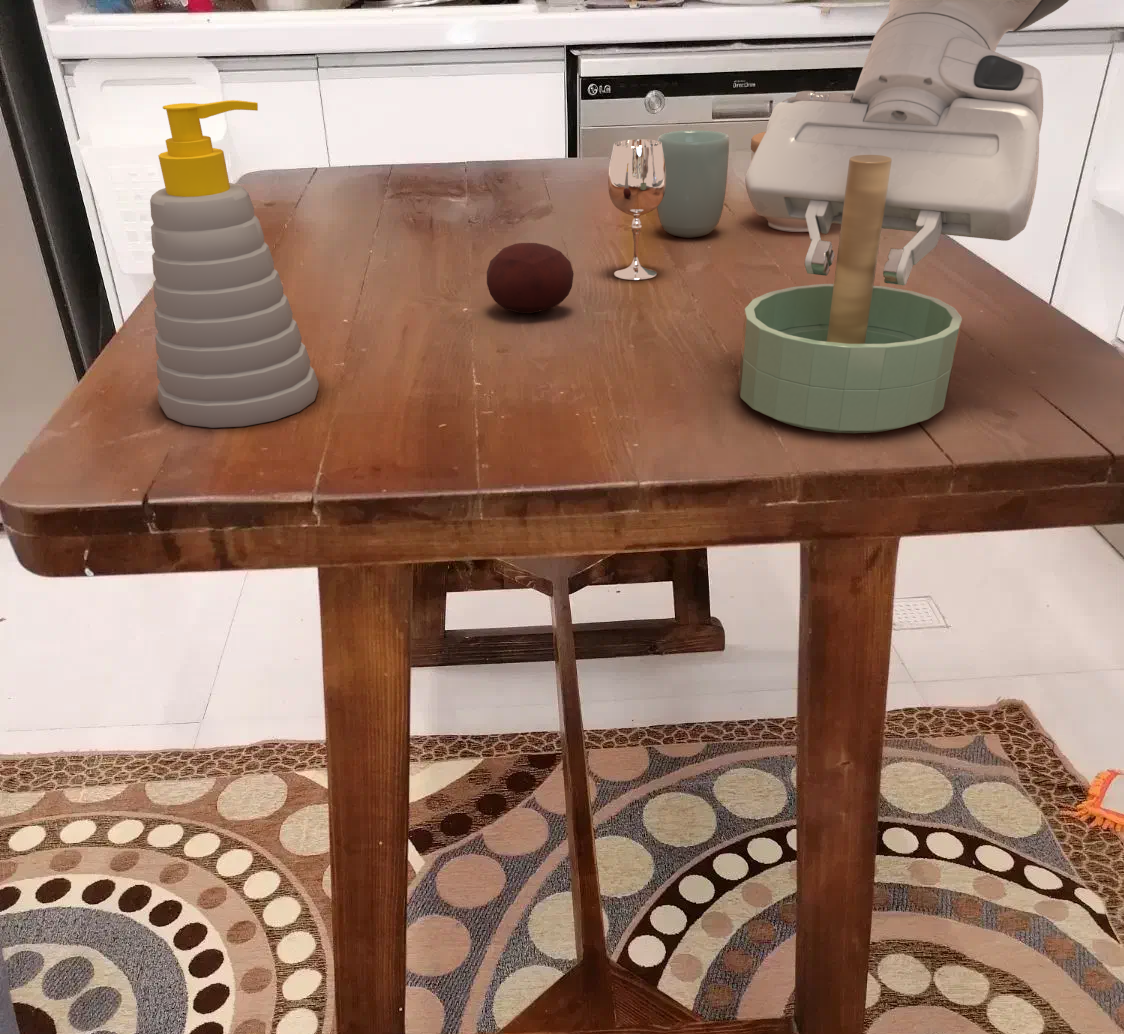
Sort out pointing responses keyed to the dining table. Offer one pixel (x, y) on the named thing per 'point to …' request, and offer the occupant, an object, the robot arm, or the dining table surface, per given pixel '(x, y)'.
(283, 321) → the soap bottle
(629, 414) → the dining table surface
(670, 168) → the cup
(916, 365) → the mixing bowl
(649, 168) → the wineglass
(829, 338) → the muddler
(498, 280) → the potato
